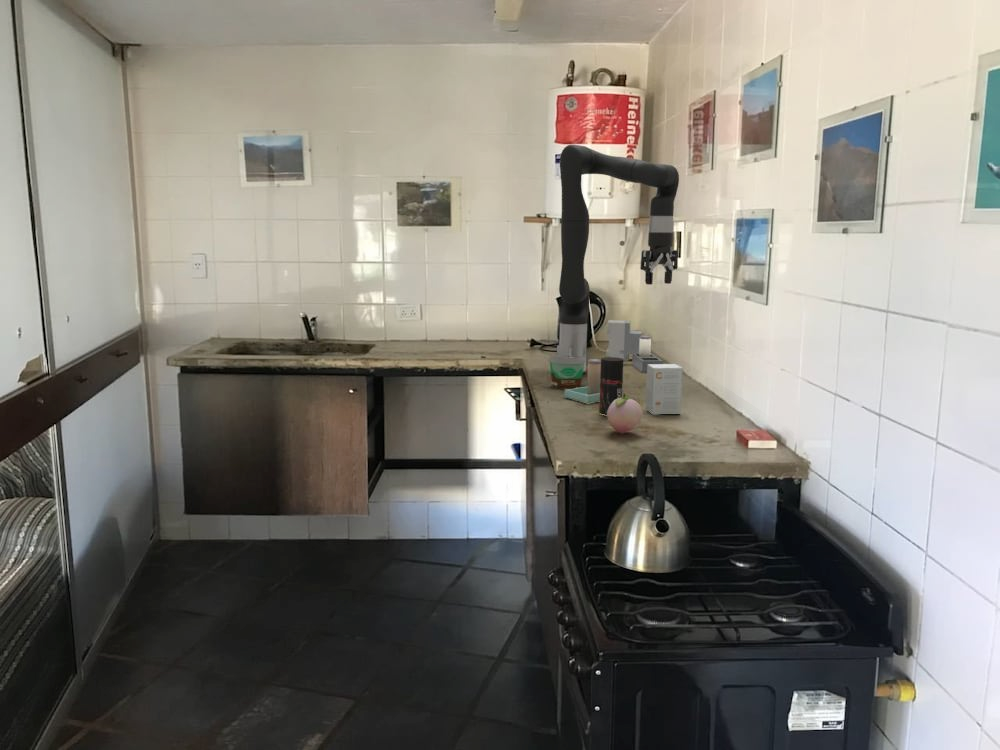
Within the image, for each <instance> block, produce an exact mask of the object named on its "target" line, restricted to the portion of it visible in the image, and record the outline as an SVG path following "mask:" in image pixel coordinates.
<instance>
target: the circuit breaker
mask: <svg viewBox="0 0 1000 750" xmlns="http://www.w3.org/2000/svg"><path fill="white" fill-rule="evenodd" d="M606 335H607V336H608V347H607V348H606V350H605V357H615V358H622V359H623V362H628V361H630V355H632V354H639V342H640V336H643V330H631V320H620V319H619V320H616V319H614V320H613V319H609V320H608V321H607V326H606Z"/></svg>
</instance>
